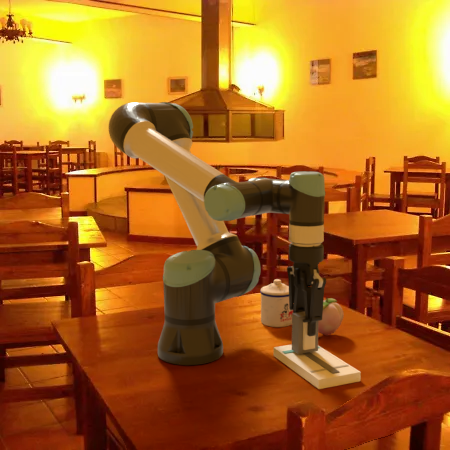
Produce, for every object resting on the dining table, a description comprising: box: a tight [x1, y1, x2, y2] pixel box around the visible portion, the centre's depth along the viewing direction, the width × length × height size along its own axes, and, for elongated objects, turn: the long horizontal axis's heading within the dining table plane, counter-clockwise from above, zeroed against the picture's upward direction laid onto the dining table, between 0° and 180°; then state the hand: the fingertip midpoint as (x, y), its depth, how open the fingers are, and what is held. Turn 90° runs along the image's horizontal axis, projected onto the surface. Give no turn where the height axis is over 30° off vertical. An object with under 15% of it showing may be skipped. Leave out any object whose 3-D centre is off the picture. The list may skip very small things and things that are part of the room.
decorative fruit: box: [318, 296, 345, 337], centre depth 160 cm, size 9×8×10 cm
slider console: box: [273, 344, 362, 390], centre depth 140 cm, size 10×20×2 cm, turn 23°
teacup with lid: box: [260, 278, 294, 328], centre depth 172 cm, size 12×9×12 cm
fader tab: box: [291, 311, 319, 354], centre depth 143 cm, size 5×3×8 cm, turn 113°
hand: (304, 345), depth 144 cm, fingers closed on fader tab, 3 cm apart
